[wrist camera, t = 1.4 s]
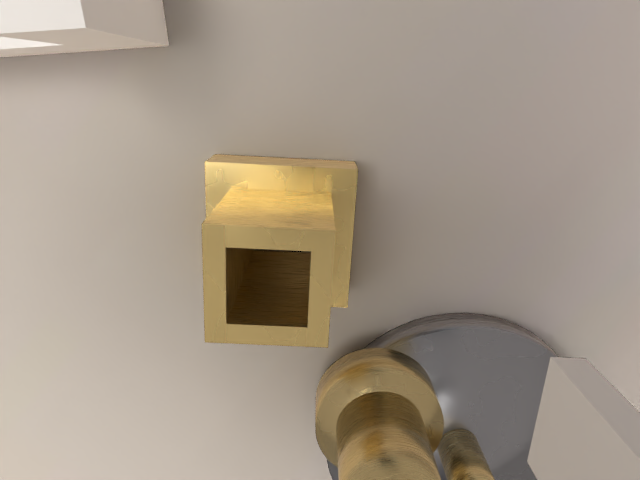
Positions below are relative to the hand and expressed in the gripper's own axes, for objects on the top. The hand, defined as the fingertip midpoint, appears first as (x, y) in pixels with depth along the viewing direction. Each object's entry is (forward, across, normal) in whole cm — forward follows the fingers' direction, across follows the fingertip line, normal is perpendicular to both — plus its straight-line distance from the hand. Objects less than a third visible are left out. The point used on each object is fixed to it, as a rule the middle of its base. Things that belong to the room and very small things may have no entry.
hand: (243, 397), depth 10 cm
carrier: (+12, +9, -10) cm, 18 cm away
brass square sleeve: (+12, 0, 0) cm, 12 cm away
